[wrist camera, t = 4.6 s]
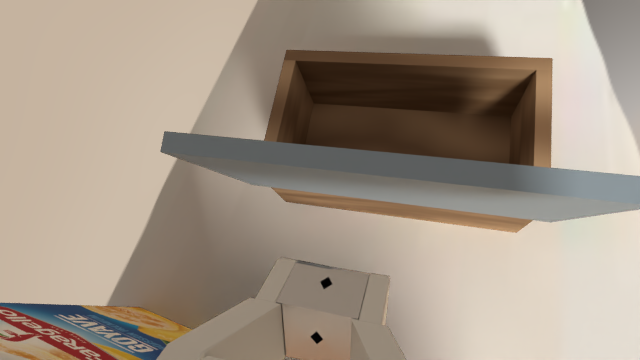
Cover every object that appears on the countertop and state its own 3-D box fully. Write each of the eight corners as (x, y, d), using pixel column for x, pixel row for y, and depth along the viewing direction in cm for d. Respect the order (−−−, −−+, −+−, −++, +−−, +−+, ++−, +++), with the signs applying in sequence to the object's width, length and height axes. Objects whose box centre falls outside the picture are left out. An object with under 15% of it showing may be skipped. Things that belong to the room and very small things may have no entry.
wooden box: (516, 232, 32) (550, 207, 24) (286, 201, 37) (256, 173, 29) (521, 112, 35) (552, 58, 28) (308, 99, 40) (286, 49, 33)
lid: (551, 206, 24) (550, 222, 24) (254, 171, 29) (252, 184, 29) (659, 177, 14) (658, 206, 13) (164, 131, 19) (160, 151, 18)
